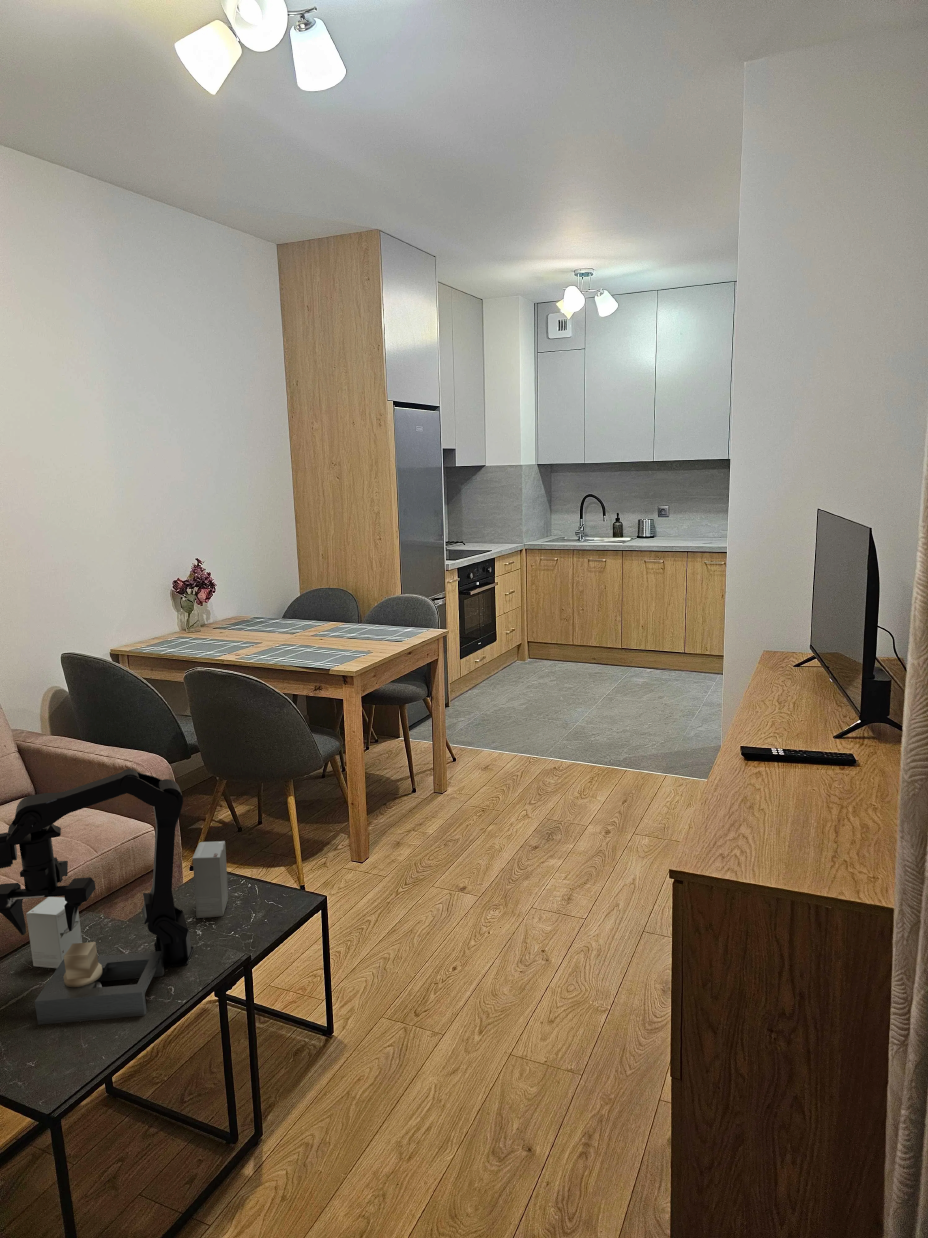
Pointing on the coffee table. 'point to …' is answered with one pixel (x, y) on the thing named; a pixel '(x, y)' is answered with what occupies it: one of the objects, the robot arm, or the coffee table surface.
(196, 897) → the skincare box
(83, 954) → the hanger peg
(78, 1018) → the keyhole plate
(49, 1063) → the coffee table surface
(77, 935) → the supplement box
